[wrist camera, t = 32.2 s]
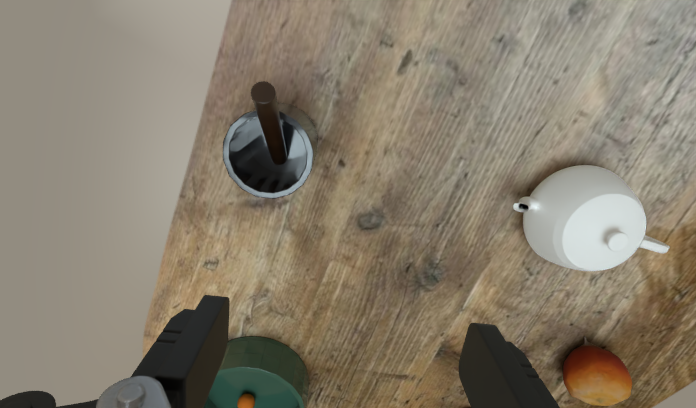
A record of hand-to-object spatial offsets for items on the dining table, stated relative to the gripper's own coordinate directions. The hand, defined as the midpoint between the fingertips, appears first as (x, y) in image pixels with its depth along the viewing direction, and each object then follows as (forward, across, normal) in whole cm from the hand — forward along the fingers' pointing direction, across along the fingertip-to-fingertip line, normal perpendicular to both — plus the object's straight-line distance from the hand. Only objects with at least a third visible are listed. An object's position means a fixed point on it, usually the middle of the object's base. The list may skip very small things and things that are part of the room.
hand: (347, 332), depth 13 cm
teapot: (+34, -28, +4) cm, 44 cm away
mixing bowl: (+34, +8, +35) cm, 50 cm away
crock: (+34, +7, 0) cm, 35 cm away
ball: (+32, +9, +37) cm, 50 cm away
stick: (+33, +7, +2) cm, 34 cm away
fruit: (+34, -38, +26) cm, 57 cm away
